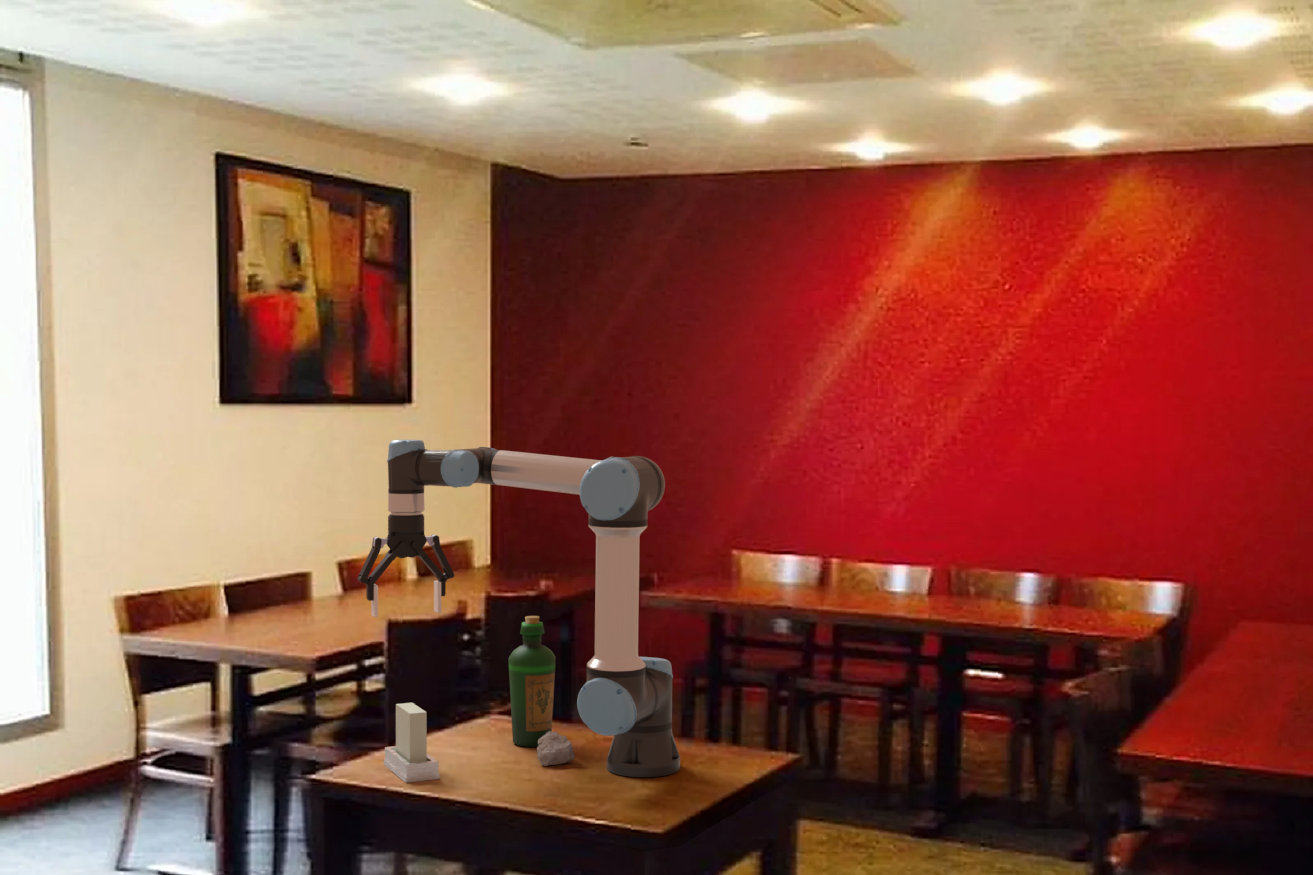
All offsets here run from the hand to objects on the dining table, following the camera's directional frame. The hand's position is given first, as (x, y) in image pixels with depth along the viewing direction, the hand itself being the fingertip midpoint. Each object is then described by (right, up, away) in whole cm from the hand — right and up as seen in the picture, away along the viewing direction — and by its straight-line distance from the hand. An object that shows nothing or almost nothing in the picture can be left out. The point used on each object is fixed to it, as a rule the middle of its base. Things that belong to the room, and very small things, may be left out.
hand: (406, 614), depth 312 cm
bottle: (+25, -31, +15) cm, 42 cm away
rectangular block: (+2, -30, -9) cm, 31 cm away
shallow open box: (+2, -31, -9) cm, 32 cm away
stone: (+31, -31, 0) cm, 44 cm away
